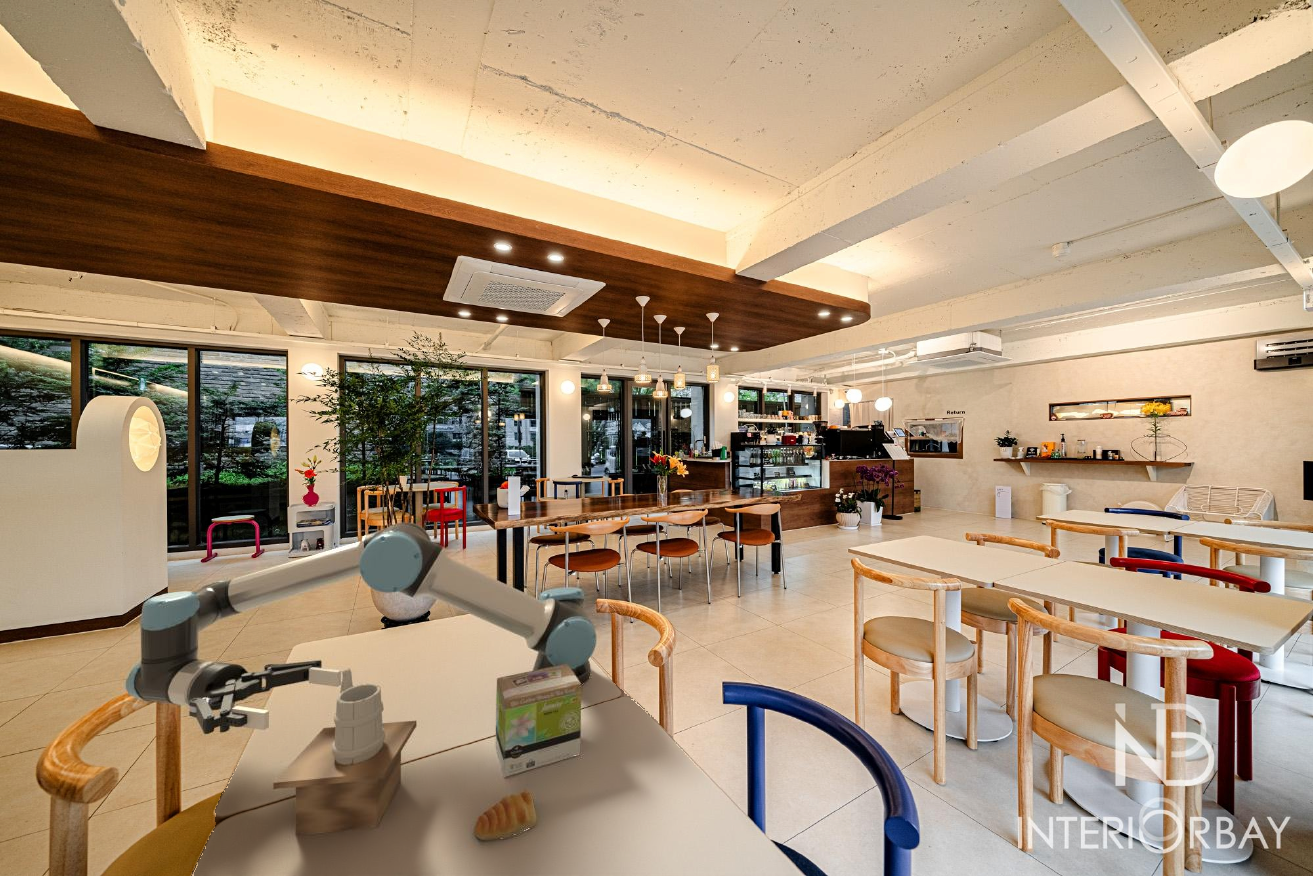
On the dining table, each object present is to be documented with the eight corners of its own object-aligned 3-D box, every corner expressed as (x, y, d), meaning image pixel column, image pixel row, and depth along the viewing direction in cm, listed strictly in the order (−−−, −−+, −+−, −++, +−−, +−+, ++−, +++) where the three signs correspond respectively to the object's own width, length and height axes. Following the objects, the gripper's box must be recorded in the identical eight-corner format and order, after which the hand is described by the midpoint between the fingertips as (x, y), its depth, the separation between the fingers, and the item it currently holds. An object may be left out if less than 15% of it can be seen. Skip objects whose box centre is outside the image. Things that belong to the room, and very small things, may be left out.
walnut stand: (416, 773, 89) (416, 720, 89) (384, 835, 75) (384, 772, 75) (323, 782, 87) (323, 727, 87) (273, 848, 73) (273, 782, 73)
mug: (341, 773, 75) (341, 697, 75) (316, 743, 82) (317, 674, 82) (392, 749, 81) (392, 678, 81) (365, 722, 88) (365, 658, 88)
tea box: (503, 781, 87) (503, 700, 87) (495, 749, 96) (495, 676, 96) (582, 756, 94) (582, 681, 94) (567, 728, 103) (567, 660, 103)
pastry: (479, 854, 72) (479, 829, 72) (470, 824, 78) (470, 801, 78) (539, 827, 77) (539, 804, 77) (527, 801, 82) (527, 779, 83)
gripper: (277, 672, 99) (363, 683, 95) (121, 748, 75) (228, 767, 71) (277, 636, 99) (363, 645, 95) (121, 701, 75) (228, 717, 71)
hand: (306, 697), depth 83 cm, fingers open, 13 cm apart
